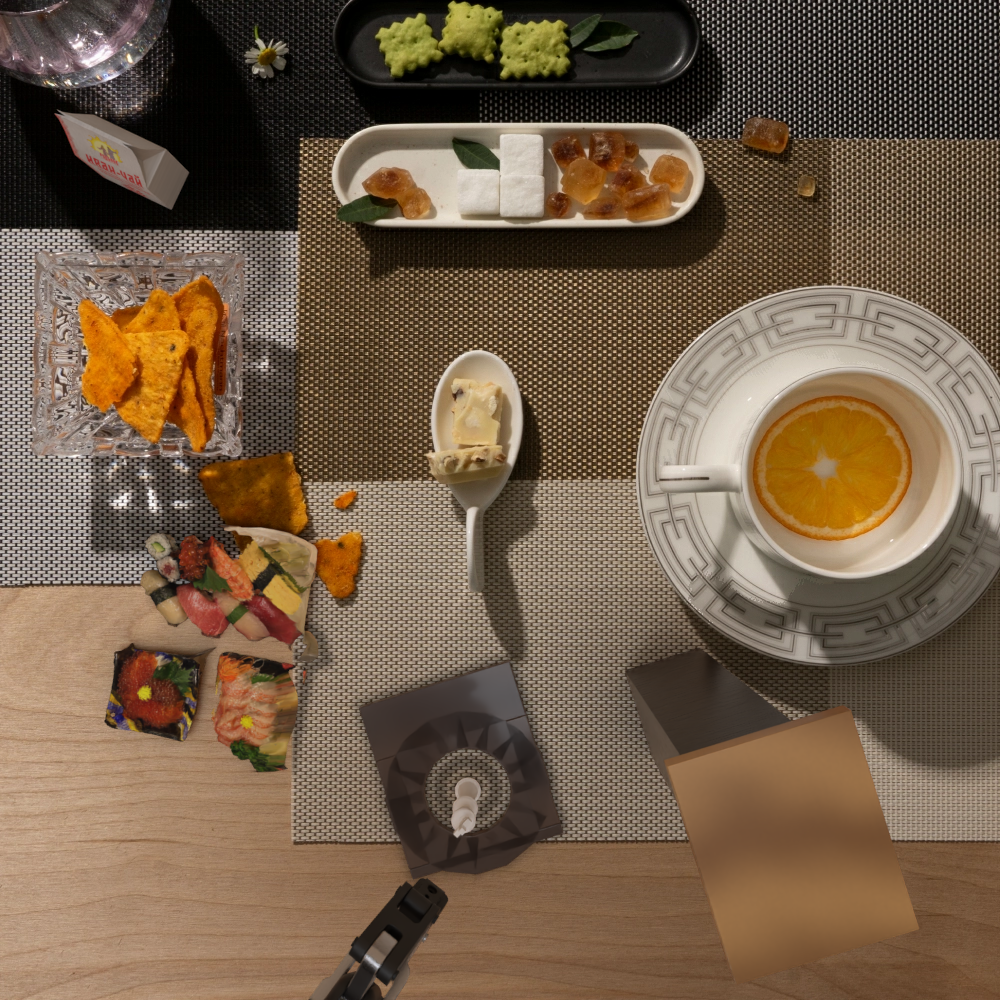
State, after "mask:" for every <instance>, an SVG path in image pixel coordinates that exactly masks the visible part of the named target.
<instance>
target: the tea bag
mask: <svg viewBox="0 0 1000 1000" xmlns="http://www.w3.org/2000/svg"><path fill="white" fill-rule="evenodd" d="M57 111H58V112H59V113H60V114H58V113H54V115H55V117H56V118H57V119H58V120H59V122H60V123H59V124H61V126H62V128H63V130H64V133H65V135H66V137H67V140H68V142H69V144H70V147H71V149H72V152H73V154H74V156H76V157H77V158H78V159H79V160H81V161H82V162H83V163H85V164H86V165H87V166H88V167H89V168H90V169H92V170H93V171H95V172H96V173H97V174H98V175H100V176H101V177H102V178H104V179H106V180H108V181H110V182H112V183H115V184H117V185H118V186H121V187H123V188H125V189H127V190H128V191H131V192H133V193H135V194H137V195H140V196H142V197H144V198H146V199H148V200H149V201H152V202H154V203H156V204H158V205H161V206H163V207H165V208H166V209H169V210H172V209H174V205H175V203H176V201H177V200H178V197H179V195H180V192H181V190H182V189H183V186H184V184H185V182H186V181H187V178H188V176H189V174H190V172H189V171H188V169H186V167H184V166H183V165H182V164H181V163H180V162H179V160H178V159H177V158H176V157H175V156H174V155H172V154H171V153H170V152H169V150H168V149H166V148H165V147H162V146H161V145H158V144H156V143H154V142H152V141H150V140H148V139H145V138H144V137H142V136H139V135H137V134H136V133H134V132H131V131H129V130H126V129H125V128H122V127H120V126H118V125H117V124H114V123H112V122H110V121H108V120H106V119H105V118H101V117H99V116H97V115H95V114H88V113H87V114H86V113H71V112H65V111H61V110H59V109H57Z"/></svg>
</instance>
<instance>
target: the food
mask: <svg viewBox="0 0 1000 1000" xmlns="http://www.w3.org/2000/svg"><path fill="white" fill-rule="evenodd" d="M217 526H218V527H220V528H223V530H224V531H227V532H234V531H235V532H236V533H237V534H238V535H239V536H247V537H248V536H249V537H251V540H252V541H251V542H250V544H249V543H247V544H246V547H245V548H244V550H243V552H242V554H241V553H240V554H239V555H238V558H235V559H232V558H231V557H230V556H229V555H228V554H227V552H226V551H227V550H225V544H224V543H223V542H220V541H219V540H217V539H216V537H214V536H213V535H210V537H209V539H208V540H206V541H205V540H204V541H201V539H199V538H198V537H197V536H196V535H195V534H192V535H189V536H188V535H187V536H184V537H183V540H181V542H180V544H179V546H178V545H176V543H177V542H176V539H175V538H174V537H173V536H172V535H171V534H166V533H164V532H155V533H152V534H150V535H149V537H147V539H145V540H144V542H145V544H144V548H145V550H147V553H148V554H149V555H150V557H151V558H152V559H153V560H154V561H155V565H156V569H150V570H147V571H144V572H143V573H142V576H141V577H140V580H139V584H140V586H141V587H142V588H143V589H144V590H145V593H144V595H146V596H148V597H150V599H151V600H152V602H153V604H154V606H155V608H156V610H158V613H160V614H161V616H162V617H163V618H164V620H165V621H166V623H167V625H168V626H170V627H174V628H177V627H178V626H179V625H180V624H182V623H184V622H186V621H187V620H188V619H189V620H190V621H191V623H192V624H193V625H195V626H196V627H197V628H198V629H199V630H200V634H201V635H202V636H203V637H206V638H210V639H211V640H212V639H213V640H215V639H218V640H219V639H221V638H222V637H221V636H222V634H223V632H224V631H225V630H227V628H228V626H229V624H231V625H232V626H233V628H234V629H235V630H236V632H238V633H240V634H241V635H243V637H245V639H246V640H247V641H248V642H260V641H263V640H264V639H267V638H275V639H276V640H277V641H278V642H280V643H281V642H282V643H284V644H286V645H287V646H288V649H289V651H290V652H291V651H292V645H293V644H294V643H295V641H296V640H297V639H298V638H299V637H300V636H301V635H303V637H302V645H306V647H305V649H304V650H303V652H302V654H301V655H300V656H299V658H298V659H297V660H296V662H299V663H300V662H302V663H303V662H305V663H306V664H309V663H312V662H314V661H316V660H317V658H318V656H319V643H318V640H317V638H316V637H315V636H314V635H313V633H312V632H311V631H310V630H305V626H306V625H305V624H306V618H307V613H308V606H309V599H310V593H311V587H312V586H311V585H312V583H313V582H314V581H315V577H316V569H317V561H318V549H317V547H316V545H315V544H313V543H311V542H310V541H307V540H305V539H304V538H302V537H300V536H297V535H295V534H293V533H291V532H287V531H283V530H278V529H273V528H267V527H241V526H239V525H226V524H225V525H224V524H217ZM181 580H183V581H186V582H187V583H183V584H177V582H178V581H181ZM261 592H262V594H263V595H260V593H261ZM133 644H134V643H133V642H131V643H130V644H129V645H128V646H127V647H125V648H123V649H121V650H116V651H114V652H113V654H114V656H113V661H112V662H113V676H112V682H111V689H110V694H109V698H108V702H107V707H106V709H105V718H104V721H103V722H104V723H105V725H106V726H107V727H108V728H111V729H113V730H120V731H129V732H136V733H144V734H148V735H153V736H157V737H161V738H165V739H168V740H169V739H170V740H174V741H178V742H181V743H182V742H183V743H184V742H185V741H186V739H187V738H188V734H189V732H190V730H191V728H192V725H193V721H194V718H195V717H196V712H197V710H198V708H197V704H198V697H199V687H200V682H201V676H202V675H203V674H204V668H205V666H206V665H205V664H207V663H206V662H207V658H208V656H209V655H211V653H212V652H213V651H214V650H216V647H213V648H211V649H207V650H204V651H201V652H198V653H195V654H191V655H190V654H180V653H179V654H178V653H169V652H164V651H151V650H150V651H149V650H148V651H147V650H143V649H136V648H135V646H134V645H133ZM296 668H297V665H296V664H293V663H288V662H283V661H282V662H281V661H277V660H273V659H269V658H266V657H259V656H258V657H257V656H253V655H247V654H241V653H238V652H234V651H224V652H221V654H219V658H218V662H217V665H216V676H215V686H214V688H215V696H217V694H218V693H219V692H218V689H219V685H220V683H221V686H220V694H219V698H218V701H219V702H218V704H217V706H216V711H215V707H214V708H212V711H211V712H210V714H211V715H212V716H211V717H210V718H211V721H212V722H213V730H214V732H215V733H216V734H217V742H219V743H220V744H223V745H225V746H226V747H228V748H229V749H230V751H231V753H232V755H233V756H234V757H237V759H238V760H240V761H245V760H246V761H247V760H249V763H250V764H251V765H252V768H253V769H254V770H256V771H255V773H272V772H280V771H285V770H288V769H289V768H288V767H287V766H286V759H287V754H288V744H289V742H290V740H291V737H292V734H293V732H294V729H295V727H296V722H297V716H298V712H299V711H298V709H299V696H298V692H297V689H296V686H295V683H294V681H293V679H292V677H291V674H290V670H294V669H296ZM302 675H303V676H302V679H303V680H302V686H304V685H305V684H306V681H307V677H308V669H307V668H306V667H305V666H303V670H302ZM302 690H304V688H303V687H302ZM112 714H114V716H112Z"/></svg>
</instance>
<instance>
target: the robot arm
mask: <svg viewBox="0 0 1000 1000" xmlns="http://www.w3.org/2000/svg"><path fill="white" fill-rule="evenodd" d="M448 902H449V897H448V895H447V894H446V891H444V889H442V888H440V887H439V886H438V885H436V883H434V882H433V881H431V880H430V879H429V878H425V877H424V878H423V877H420V878H418V880H417V881H416V882H415V883H414V885H412V884H411V883H409V881H404V882H403V884H401V885H399V886H398V887H397V888H396V890H395V891H394V895H393V896H392V897H391V898H390V899H389V900H388V901H387V903H386V904H385V905H384V906H383V908H382V909H381V910H380V911H379V912H378V913H377V915H376V916H375V917H374V918H373V919H372V921H371V922H370V923H369V924H368V925H367V926H366V928H365V929H364V930H363V931H362V933H361V934H360V935H359V936H356V937H354V939H353V941H352V943H351V944H350V949H349V950H348V951H347V953H346V954H345V956H344V957H343V958H342V960H341V962H339V964H338V966H337V967H336V968H335V970H334V971H333V973H332V974H331V975H329V976H328V977H327V976H326V977H325V978H323V979H322V980H321V981H320V982H319V984H318V985H317V987H316V988H315V989H314V991H313V992H312V994H311V995H310V997H309V998H308V1000H397V998H398V997H399V995H400V993H401V992H402V990H403V989H404V987H405V985H406V984H407V983H408V980H409V978H410V975H411V968H410V966H409V963H410V961H411V959H412V957H413V956H414V954H415V953H416V951H417V950H418V949H419V948H420V946H421V944H422V943H423V944H425V942H426V941H427V939H428V937H429V936H430V934H429V931H430V929H431V928H432V926H433V925H436V922H437V921H438V919H439V917H440V915H441V914H442V912H443V911H444V909H445V907H446V906H447V904H448ZM356 962H357V963H358V964H359V965H358V967H357V969H356V970H354V971H350V970H351V969H352V968H353V966H354V965H355V963H356ZM376 979H377V980H378V981H380V983H382V984H383V985H385V986H386V987H388V985H389V984H390V983H391V986H390V987H389V989H388V991H387V992H386V994H385V995H384V996H383V994H382V989H381V987H380V985H378V984H377V983H376V982H375V980H376Z"/></svg>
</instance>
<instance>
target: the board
mask: <svg viewBox="0 0 1000 1000" xmlns="http://www.w3.org/2000/svg"><path fill="white" fill-rule="evenodd" d="M358 710H359V713H360V717H361V719H362V723H363V726H364V730H365V732H366V736H367V739H368V741H369V742H368V743H369V745H370V748H371V752H372V755H373V759H374V761H375V765H376V768H377V771H378V775H379V777H380V781H381V784H382V787H383V790H384V793H385V798H384V802H385V805H386V808H387V811H388V815H389V818H390V821H391V825H392V827H393V830H394V832H395V833H396V835H397V836H398V838H399V841H400V844H401V848H402V851H403V854H404V858H405V861H406V863H407V867H408V870H409V873H410V876H411V879H412V880H413V881H414V880H416V879H420V878H423V877H424V878H425V877H426V876H430V875H433V874H436V873H440V872H445V873H457V874H465V875H466V874H467V875H480V874H484V873H486V872H490V871H493V870H496V869H500V868H504V867H507V866H508V865H510V864H511V863H512V862H513V861H514V860H516V859H517V858H518V857H519V856H520V855H522V854H523V853H524V852H526V851H527V850H528V849H529V848H531V846H533V845H534V843H537V842H540V841H543V840H546V839H547V840H548V839H550V838H554V837H557V836H559V835H563V834H564V830H563V829H564V828H563V826H562V823H561V820H560V816H559V813H558V810H557V807H556V803H555V800H554V797H553V794H552V791H551V779H550V777H549V773H548V769H547V767H546V764H545V763H546V762H545V761H544V757H543V754H542V751H541V749H540V747H538V745H537V743H536V740H535V736H534V733H533V731H532V727H531V724H530V720H529V717H528V714H527V711H526V708H525V705H524V701H523V698H522V696H521V692H520V689H519V686H518V682H517V679H516V676H515V673H514V670H513V667H512V663H511V660H510V659H506V660H503V661H499V662H497V663H494V664H490V665H486V666H483V667H481V668H480V667H479V668H478V669H474V670H471V671H468V672H465V673H461V674H459V675H454V676H452V677H448V678H446V679H441V680H439V681H436V682H433V683H432V682H431V683H429V684H426V685H423V686H420V687H416V688H413V689H410V690H406V691H404V692H400V693H397V694H394V695H390V696H387V697H384V698H380V699H378V700H374V701H371V702H368V703H364V704H362V705H359V707H358ZM460 750H473V751H481V752H482V753H485V754H486V755H488V756H490V757H492V758H494V759H495V760H496V761H497V763H499V765H500V766H501V767H502V769H504V771H505V772H506V775H507V779H508V781H509V782H508V783H509V786H510V794H509V802H508V805H507V806H506V808H505V810H504V811H503V814H502V816H501V817H500V818H498V819H497V820H496V821H495V822H493V823H492V824H491V825H490V826H489V827H487V828H483V829H480V830H477V831H473V832H471V831H470V832H467V833H464V834H463V835H461V834H460V836H459V837H458V838H457V837H456V836H455V835H454V834H453V833H454V831H455V829H454V828H451V827H450V826H448V825H446V824H444V823H442V822H441V821H440V820H439V819H438V818H437V816H436V815H435V814H434V812H432V810H431V808H430V806H429V802H428V799H427V796H426V788H427V779H428V776H429V775H430V772H431V770H432V769H433V767H434V765H435V764H436V763H438V761H440V760H441V759H442V758H444V757H445V756H446V755H447V754H451V753H453V752H457V751H460Z"/></svg>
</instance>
